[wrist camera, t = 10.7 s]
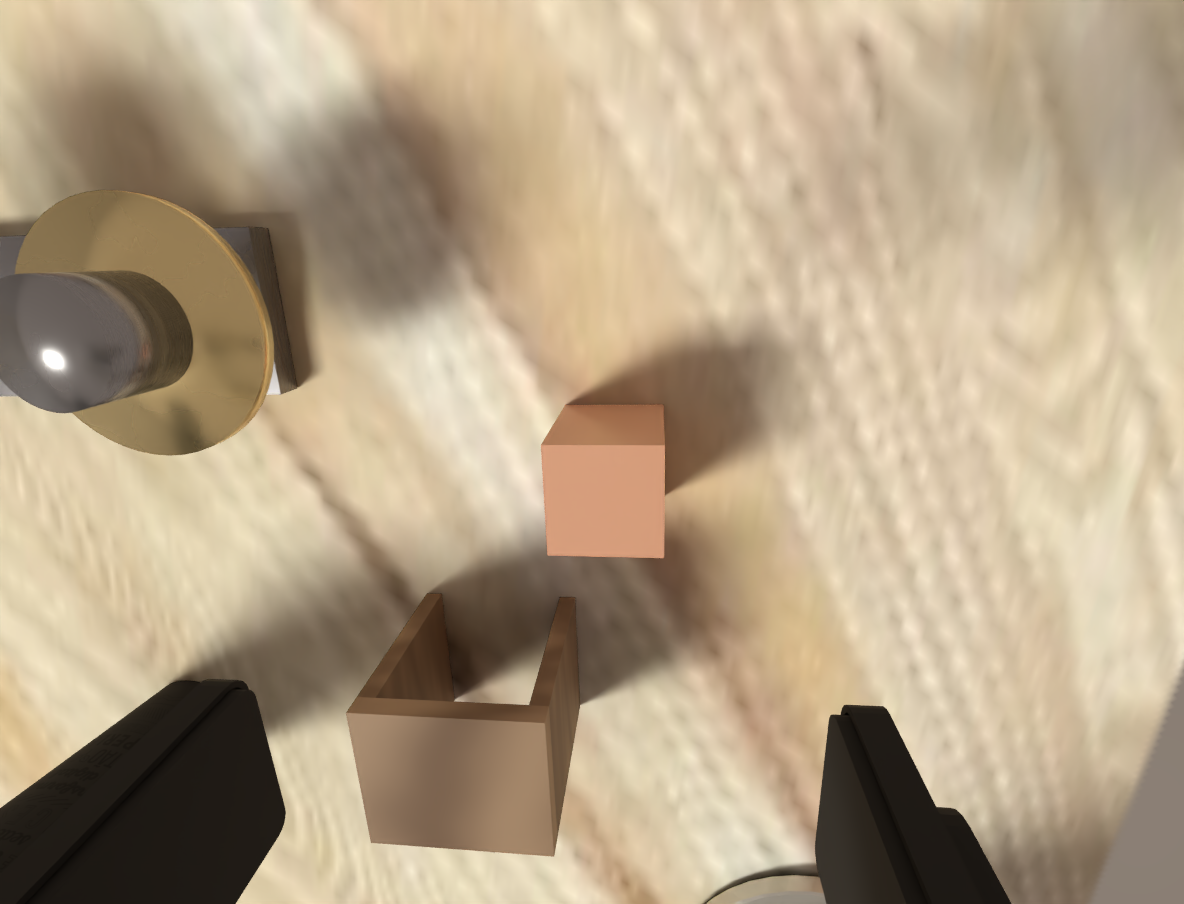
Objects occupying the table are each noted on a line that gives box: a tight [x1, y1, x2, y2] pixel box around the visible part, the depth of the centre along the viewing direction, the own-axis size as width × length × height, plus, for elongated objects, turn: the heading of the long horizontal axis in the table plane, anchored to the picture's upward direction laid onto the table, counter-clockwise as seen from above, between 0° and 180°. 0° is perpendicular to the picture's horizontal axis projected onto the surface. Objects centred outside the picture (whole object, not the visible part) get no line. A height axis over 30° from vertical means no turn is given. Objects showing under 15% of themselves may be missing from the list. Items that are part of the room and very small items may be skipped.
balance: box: [0, 190, 297, 455], centre depth 21 cm, size 21×8×10 cm, turn 92°
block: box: [541, 405, 665, 558], centre depth 23 cm, size 4×4×6 cm
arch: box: [346, 593, 580, 856], centre depth 25 cm, size 7×6×8 cm
